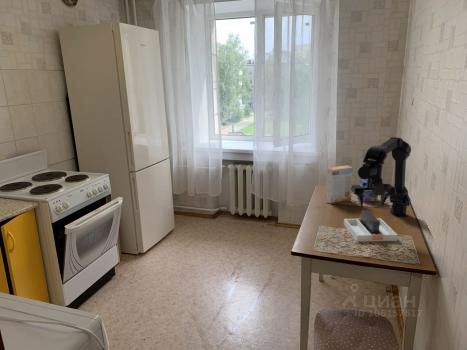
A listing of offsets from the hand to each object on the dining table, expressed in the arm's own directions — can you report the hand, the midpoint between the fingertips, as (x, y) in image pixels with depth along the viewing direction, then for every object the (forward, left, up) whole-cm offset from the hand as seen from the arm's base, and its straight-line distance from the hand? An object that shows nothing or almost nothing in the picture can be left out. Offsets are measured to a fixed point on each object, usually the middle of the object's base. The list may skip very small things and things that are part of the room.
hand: (371, 206), depth 159 cm
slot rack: (0, 0, -13) cm, 13 cm away
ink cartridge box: (-16, -43, -13) cm, 48 cm away
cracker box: (+2, -43, -13) cm, 45 cm away
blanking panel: (0, 0, -12) cm, 12 cm away
